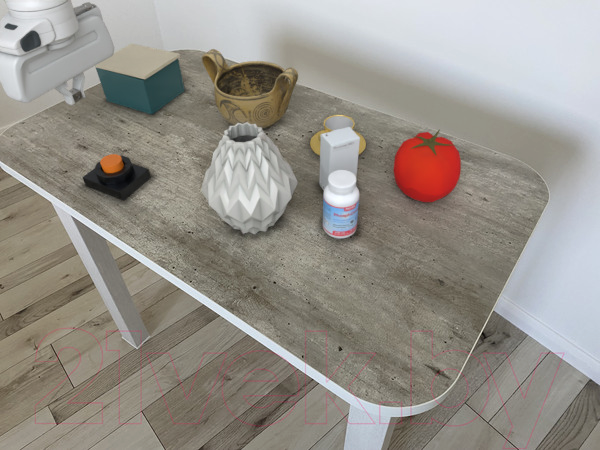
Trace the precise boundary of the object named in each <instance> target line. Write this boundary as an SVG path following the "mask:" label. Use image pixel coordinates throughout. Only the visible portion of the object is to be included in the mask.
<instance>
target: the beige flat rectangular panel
mask: <svg viewBox="0 0 600 450" xmlns="http://www.w3.org/2000/svg"><path fill="white" fill-rule="evenodd" d="M179 58H181V53H178V52H173V51H169V50H165V49H164V50H163V49H160V48H155V47H150V46H145V45H141V44H137V43H131V42H130V43H129V44H128V45H126V46H124V47H122V48H120V49H119V50H117V51H114V53H113V56H111V57H109V58H108V59H106V60H104V61H102V62H100V63H99V64H97V65H95V66H94V67H95V69H96V68H100V69H104V70H108V71H112V72H117V73H121V74H125V75H129V76H133V77H137V78H141V79H147V78H148V77H150V76H152V75H153V74H155V73H156V72H158V71H159V70H161V69H162V68H164V67H165V66H167V65H168V64H170V63H171V62H173V61H175V60H176V59H178V60H179Z"/></svg>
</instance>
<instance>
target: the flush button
mask: <svg viewBox="0 0 600 450" xmlns="http://www.w3.org/2000/svg"><path fill="white" fill-rule="evenodd" d="M99 162H100V164H101V166H102V169H103V171H104V172H105V173H115V172H118V171H120V170H121V169H123V167H124V164H123V161H122V158H121V156H120V154H117V153H112V154H107V155H105V156H103V157H102V158H101V159H100V160H99Z"/></svg>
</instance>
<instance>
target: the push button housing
mask: <svg viewBox="0 0 600 450" xmlns="http://www.w3.org/2000/svg"><path fill="white" fill-rule="evenodd" d="M119 155H120V154H119ZM120 156H121V158H122V161H123V164H124V167H123V169H121V170H120V171H118V172H115V173H105V172H104V171H103V169H102V166H101V164H100V161H98V162H96V164H95V166H94V168H92V170H90V171H89V172H87V173H86V174H85V175H83V176H82V177H81V178H82V180H83V183H84V185H85V187H87V188H90V189H92V190H95V191H97V192H100V193H103V194H105V195H108V196H110V197H112V198H116V199H118V200H120V201H123V202H124V201H125V200H127V199H128V198H129V197H130V196H131V195H133V194H134V193H135V192H136V191H137V190H138V189H139V188H141V187H142V186H143V185H144V184H145V183H147V182H148V181H149V180H150V179H151V178H152V176H151V172H150V169H149V168H147V167H145V166H141V165H138V164H136V163H133V162H132V160H131V159H130V158H129V157H128V156H126V155H125V156H124V155H122V154H121V155H120Z"/></svg>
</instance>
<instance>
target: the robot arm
mask: <svg viewBox="0 0 600 450" xmlns="http://www.w3.org/2000/svg"><path fill="white" fill-rule="evenodd" d="M3 1H4V3H5V4H6V7H7V10H8V11H7V12H6V13H5V14H4V15H3V17H2V18H1V20H0V85H1V87H2V89H3V91H4V93H5V94H6V96H7V97H9V98H10V99H12V100H14V101H17V102H20V103H24V104H29V103H31V102H32V101H34V100H36V99H38V98H40V97H41V96H44V95H45V94H47V93H49V92H51V91H52V90H55V91H57V92H58V93H59V94H61V95H62V97H63V99H64V101H65V103H66V104H67V105H70V106H73V105H76V104H77V103H78V102H80V101H82V100H84V99H85V98H86V95H85V92H84V86H85V79H86V75H85V74H84V73H85V72H86V71H88V70H90V69H91V68H93V67H95V65H97V64H99V63H100V62H102V61H104V60H106V59H108V58H109V57H111V56H113V53H115V44H114V42H113V39H112V36H111V34H110V32H109V29H108V27H107V25H106V23H105V22H104V19H103V15H102V12H101V9H100V7H98V6H97V5H96V4H95V3H91V2H90V1H87V2H83V3H82V4H81V5H79V6H75V7H74V6H73V2H72V0H3ZM71 79H72V86H71V87H72V88H71V89H67V88H68V87H69V85H68V82H69V81H70V80H71Z"/></svg>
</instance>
